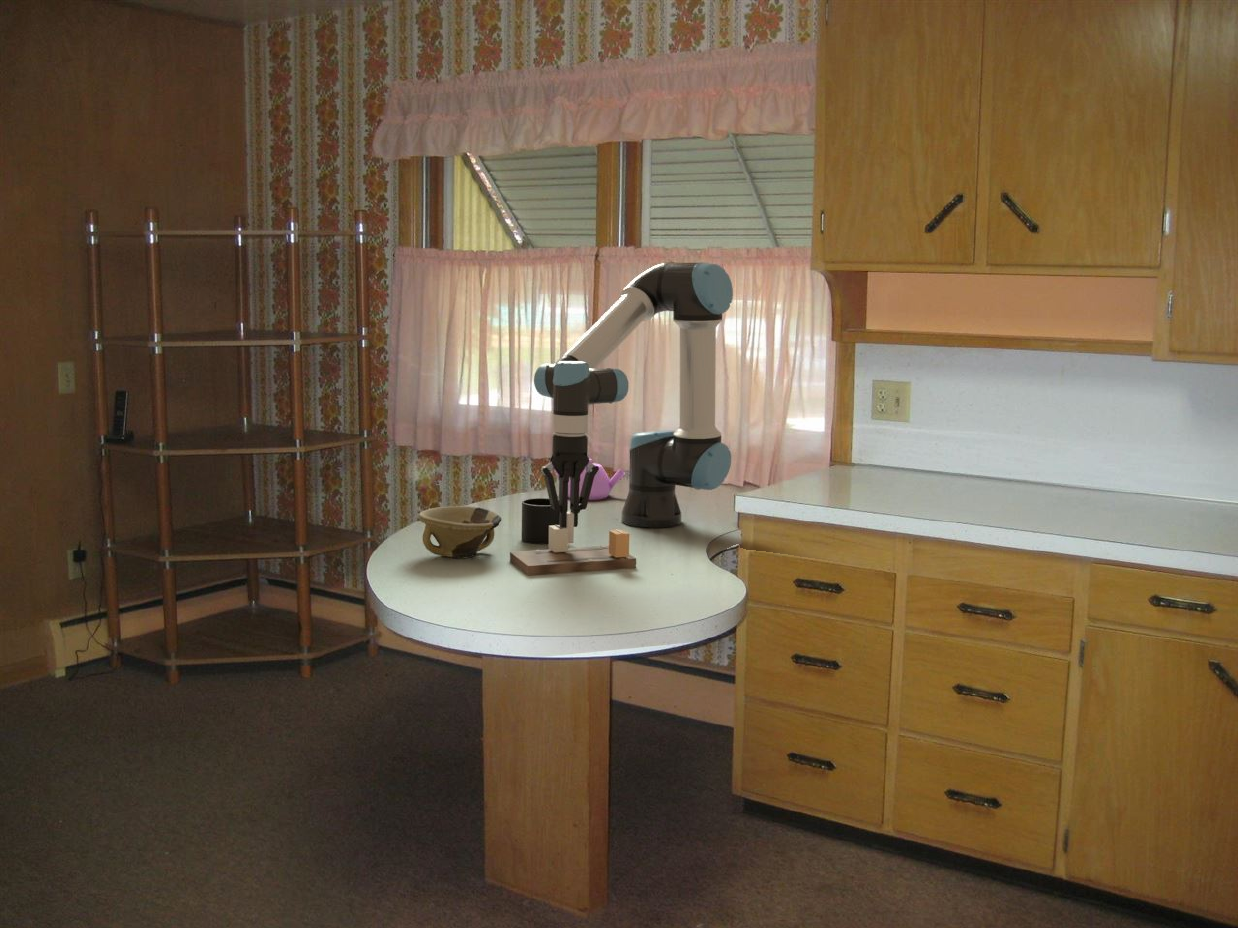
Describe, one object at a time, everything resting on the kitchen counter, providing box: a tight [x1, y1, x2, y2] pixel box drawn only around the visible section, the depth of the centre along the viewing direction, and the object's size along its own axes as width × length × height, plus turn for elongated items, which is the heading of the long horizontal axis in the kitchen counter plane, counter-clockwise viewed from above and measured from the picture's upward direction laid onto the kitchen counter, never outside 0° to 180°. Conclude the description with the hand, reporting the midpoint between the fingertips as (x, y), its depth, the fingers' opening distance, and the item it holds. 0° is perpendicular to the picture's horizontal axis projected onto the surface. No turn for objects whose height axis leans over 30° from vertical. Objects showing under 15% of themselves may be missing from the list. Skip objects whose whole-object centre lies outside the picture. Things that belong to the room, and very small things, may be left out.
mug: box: [520, 497, 559, 545], centre depth 280 cm, size 9×12×9 cm
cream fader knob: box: [548, 525, 569, 552], centre depth 260 cm, size 3×4×5 cm
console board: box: [509, 545, 637, 576], centre depth 258 cm, size 24×13×2 cm, turn 112°
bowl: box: [418, 505, 502, 559], centre depth 263 cm, size 18×18×10 cm
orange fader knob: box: [608, 528, 630, 557], centre depth 257 cm, size 3×4×5 cm
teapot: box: [553, 458, 626, 501], centre depth 336 cm, size 14×20×11 cm
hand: (568, 541), depth 261 cm, fingers closed
